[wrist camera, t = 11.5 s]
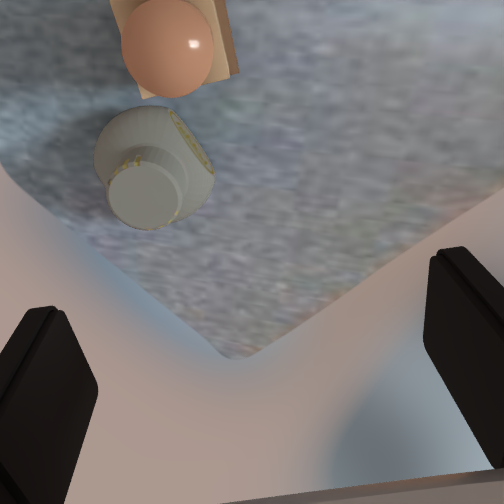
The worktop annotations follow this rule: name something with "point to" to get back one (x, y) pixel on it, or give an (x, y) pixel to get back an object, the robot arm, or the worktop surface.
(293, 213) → the worktop surface
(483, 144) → the worktop surface
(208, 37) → the brown rounded cylinder
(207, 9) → the top block
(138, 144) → the air freshener
